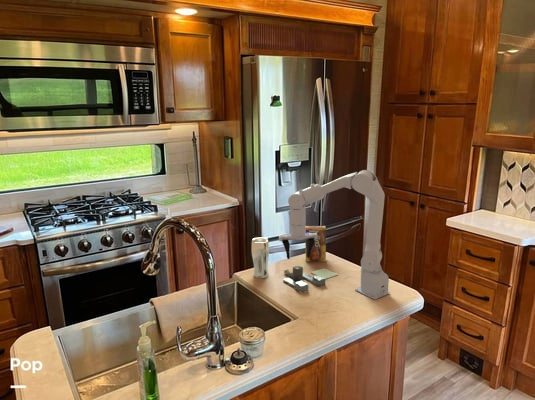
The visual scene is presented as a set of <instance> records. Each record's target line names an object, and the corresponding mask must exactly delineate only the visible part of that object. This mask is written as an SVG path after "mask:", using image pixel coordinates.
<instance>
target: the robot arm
mask: <svg viewBox="0 0 535 400" xmlns="http://www.w3.org/2000/svg"><path fill="white" fill-rule="evenodd" d="M343 188H347V189H349V190H351V189H353V190H354V191H356V192H358V193H359V194H360V195H364V197H365V198H366V199H368V201H369V208H368V219H367V229H366V241H365V242H366V243H365V247H364V253H363V256H362V258H361V259H360V286H359V287H356V288H355V291H356V292H358V293H360V294H363V295H365V296H366V297H369V298H371V299H373V300H377V299H379V298H383V297H384V296H386V295H389V294H390V291H389V282H390V281H389V279H390V277H389V275H388V274H387V273H385V272H384V270H383V268H382V265H381V261H382V258H383V253H382V250H381V246H382V245H381V237H382V236H381V235H382V227H383V218H384V217H383V216H384V206H385V198H386V197H385V192H384V190H383V188H382V186H381V184H380V182H379V180H378V177H377V176H376V175H375V174H374V173H373V172H372V171H370V170H368V169H362V170H360V171H359V172H358V171H355V172H352V173H349V174H347V175H344V176H340V177H339V178H337V179H334V180H332V181H330V182H328V183H325V184H323V185H322V184H319V183H316V184H315V183H312V184H310V185H309V187H307V188H304V189H299V190H298V191H295V192H294V193H293V194H291V195H290V196H289V197H288V201H287V204H288V206H289V207H290V209H289V210H290V212H289V215H290V216H289V217H290V218H289V219H290V223H289V224H290V225H289V226H290V233H286V234H285V233H284V234H279V235H278V241H279V242H281V243H282V245H283V247H284V249H285V253H286V258H287V260H290V257H291V254H290V246H291V244H290V241H303V240H305V239H306V245H307V250H306V249H305V257H306V256H307V258H309V256H310V252H311V249H312V247H313V245H314V244H315V240H314V239H317V234H316V233H306V226H307V225H306V224H307V222H306V220H307V219H306V214H307V213H306V206H307V205H311V204H313V203H315V202H318V201H321V200H323V199H324V198H325V196H326V194H329V193H332V192H334V191H337V190H340V189H343ZM306 245H305V246H306Z"/></svg>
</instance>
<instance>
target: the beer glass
mask: <svg viewBox="0 0 535 400" xmlns="http://www.w3.org/2000/svg"><path fill="white" fill-rule="evenodd" d="M269 246H270V243H269V239H268V237H254V238H252V240H251V257H252V262H253V277H254V278H256V279H266V278H268V277H269V270H268V262H269V256H270V247H269Z"/></svg>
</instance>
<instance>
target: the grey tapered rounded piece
mask: <svg viewBox="0 0 535 400" xmlns="http://www.w3.org/2000/svg"><path fill="white" fill-rule="evenodd" d="M303 273H304V268H303V266H300V265H297V266H293V267H292V271H290V270H289V269H287V268H285V269H284V270H283V274H285V275H287V277H289V278H291V279H292V280H294V281H296V282H298V281H303V282H304V278H303Z"/></svg>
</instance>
